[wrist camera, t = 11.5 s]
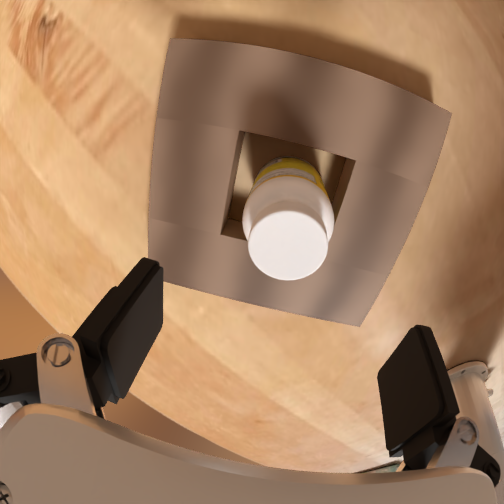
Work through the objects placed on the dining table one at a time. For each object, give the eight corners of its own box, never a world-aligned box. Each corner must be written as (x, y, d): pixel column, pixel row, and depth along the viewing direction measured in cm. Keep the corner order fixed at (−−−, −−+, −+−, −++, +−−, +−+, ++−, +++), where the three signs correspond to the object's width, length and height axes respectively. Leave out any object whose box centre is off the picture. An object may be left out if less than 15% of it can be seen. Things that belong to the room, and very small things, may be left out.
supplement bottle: (315, 223, 24) (325, 299, 15) (251, 212, 24) (227, 282, 16) (329, 161, 21) (354, 208, 12) (259, 149, 21) (237, 186, 13)
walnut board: (434, 109, 17) (451, 113, 14) (355, 306, 27) (359, 326, 25) (185, 44, 17) (170, 38, 15) (160, 259, 28) (148, 276, 25)
